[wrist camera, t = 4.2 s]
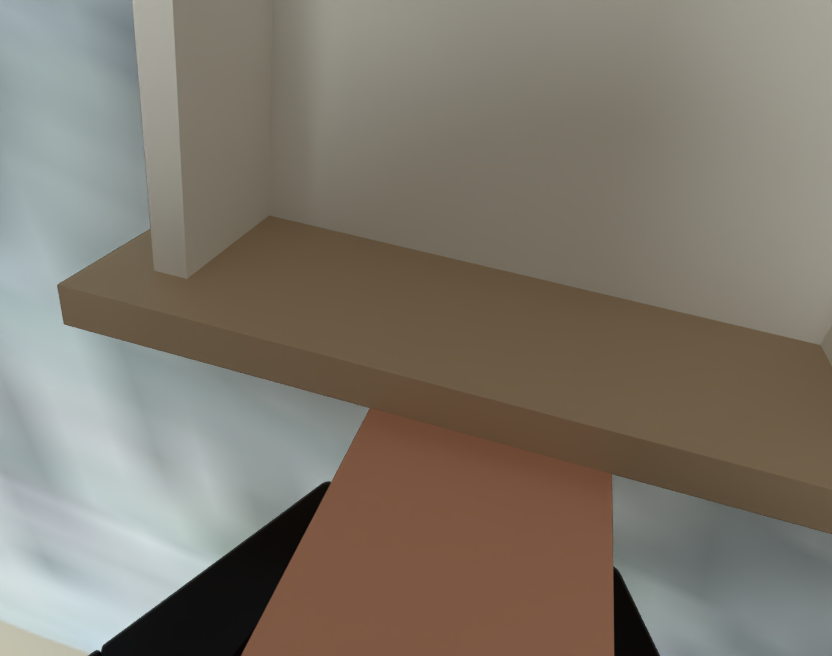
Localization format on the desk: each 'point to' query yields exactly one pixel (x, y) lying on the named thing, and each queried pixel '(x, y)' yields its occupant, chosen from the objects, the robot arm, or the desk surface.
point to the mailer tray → (493, 283)
